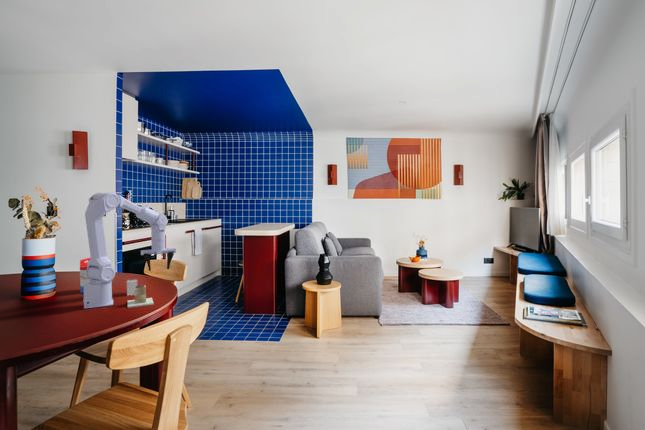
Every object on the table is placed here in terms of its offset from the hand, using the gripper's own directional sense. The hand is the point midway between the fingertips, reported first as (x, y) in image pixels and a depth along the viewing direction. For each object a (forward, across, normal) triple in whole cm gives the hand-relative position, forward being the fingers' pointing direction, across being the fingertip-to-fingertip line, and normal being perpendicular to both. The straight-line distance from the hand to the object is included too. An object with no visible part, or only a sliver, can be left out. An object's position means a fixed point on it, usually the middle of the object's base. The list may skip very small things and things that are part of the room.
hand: (159, 269), depth 165 cm
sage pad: (+9, +8, +20) cm, 23 cm away
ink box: (+10, +27, -14) cm, 32 cm away
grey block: (+10, +11, +2) cm, 15 cm away
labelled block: (+9, +8, +19) cm, 23 cm away
